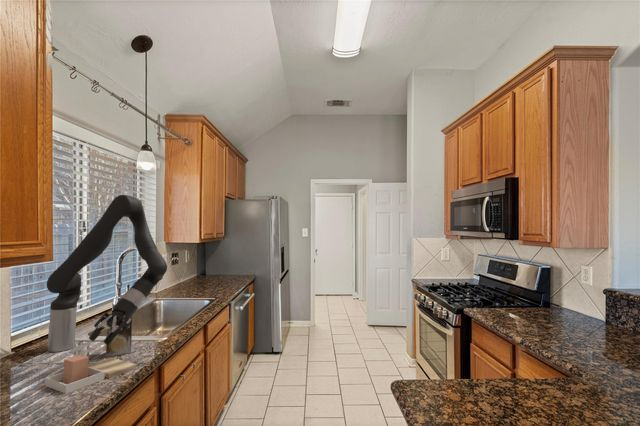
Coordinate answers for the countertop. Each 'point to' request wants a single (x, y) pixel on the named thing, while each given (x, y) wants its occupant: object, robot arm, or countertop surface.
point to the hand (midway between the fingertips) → (98, 341)
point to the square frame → (66, 388)
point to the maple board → (113, 367)
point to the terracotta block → (75, 368)
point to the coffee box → (119, 342)
